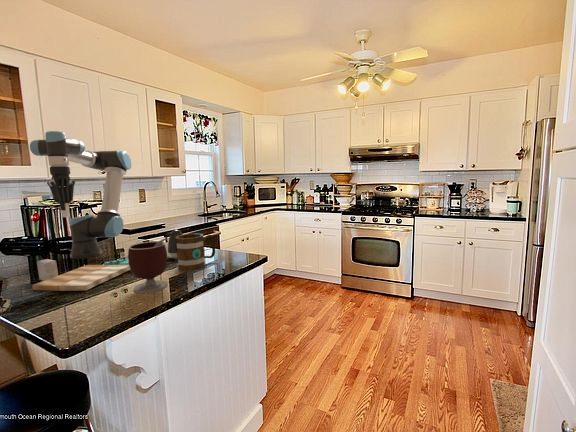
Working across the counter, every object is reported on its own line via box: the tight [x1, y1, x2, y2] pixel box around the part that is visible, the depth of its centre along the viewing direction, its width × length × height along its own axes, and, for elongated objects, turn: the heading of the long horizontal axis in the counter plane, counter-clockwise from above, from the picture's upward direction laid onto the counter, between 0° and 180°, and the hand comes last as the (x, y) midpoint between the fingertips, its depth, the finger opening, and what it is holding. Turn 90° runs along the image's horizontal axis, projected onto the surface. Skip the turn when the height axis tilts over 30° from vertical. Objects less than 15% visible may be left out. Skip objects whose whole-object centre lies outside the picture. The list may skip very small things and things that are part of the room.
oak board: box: [31, 264, 109, 292], centre depth 138 cm, size 28×12×2 cm, turn 171°
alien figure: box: [103, 257, 129, 265], centre depth 164 cm, size 20×2×20 cm
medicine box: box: [36, 258, 59, 282], centre depth 137 cm, size 8×4×9 cm, turn 59°
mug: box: [176, 233, 216, 272], centre depth 151 cm, size 20×14×15 cm
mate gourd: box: [127, 237, 169, 294], centre depth 122 cm, size 16×14×20 cm
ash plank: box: [59, 264, 131, 292], centre depth 136 cm, size 28×12×2 cm, turn 171°
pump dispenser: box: [165, 229, 184, 259], centre depth 167 cm, size 10×10×15 cm
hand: (66, 216), depth 146 cm, fingers closed
